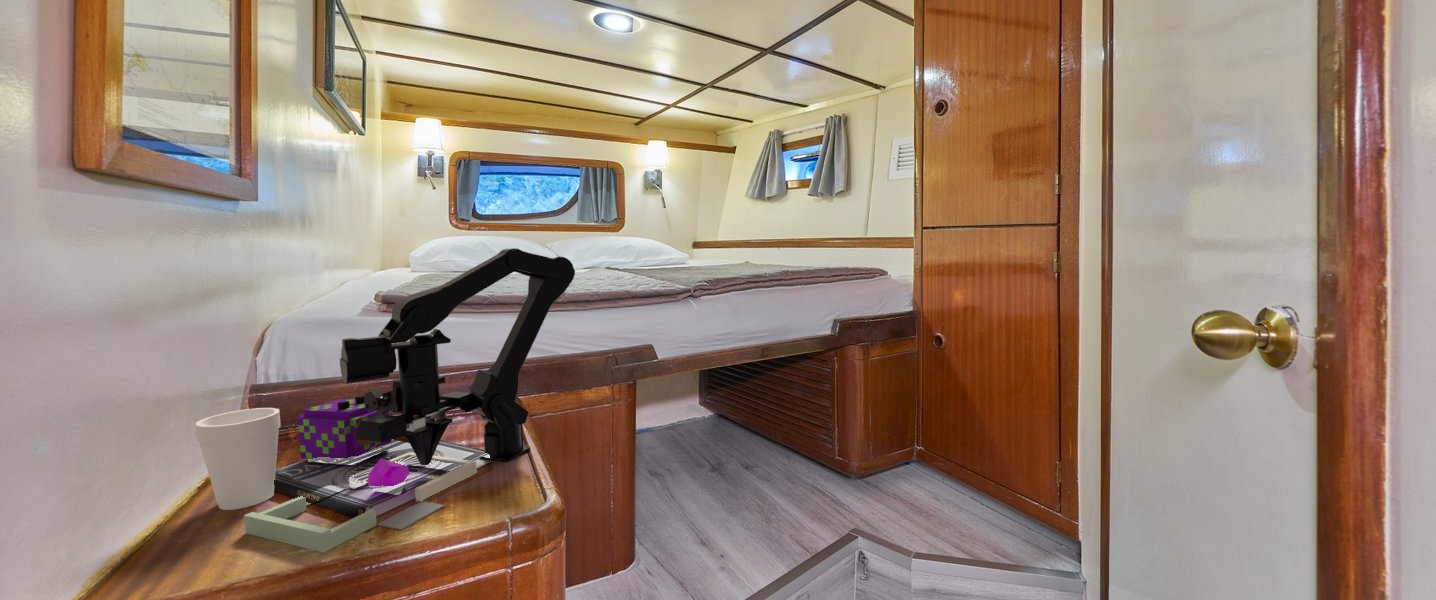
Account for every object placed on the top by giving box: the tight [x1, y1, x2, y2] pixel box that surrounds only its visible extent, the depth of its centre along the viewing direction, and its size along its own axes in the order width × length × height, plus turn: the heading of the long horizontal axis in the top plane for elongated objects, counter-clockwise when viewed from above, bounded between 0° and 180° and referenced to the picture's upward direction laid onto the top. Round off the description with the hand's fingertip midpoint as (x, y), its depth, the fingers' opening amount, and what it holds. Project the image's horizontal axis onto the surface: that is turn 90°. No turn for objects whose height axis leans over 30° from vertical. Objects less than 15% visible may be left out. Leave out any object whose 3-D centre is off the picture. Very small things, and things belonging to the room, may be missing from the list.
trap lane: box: [243, 451, 478, 553], centre depth 79 cm, size 25×15×2 cm, turn 161°
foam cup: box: [195, 407, 282, 511], centre depth 79 cm, size 10×9×13 cm
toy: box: [297, 395, 410, 460], centre depth 96 cm, size 10×11×20 cm
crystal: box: [367, 457, 411, 487], centre depth 82 cm, size 5×5×5 cm
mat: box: [377, 500, 445, 531], centre depth 74 cm, size 7×4×1 cm, turn 161°
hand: (425, 464), depth 88 cm, fingers closed
